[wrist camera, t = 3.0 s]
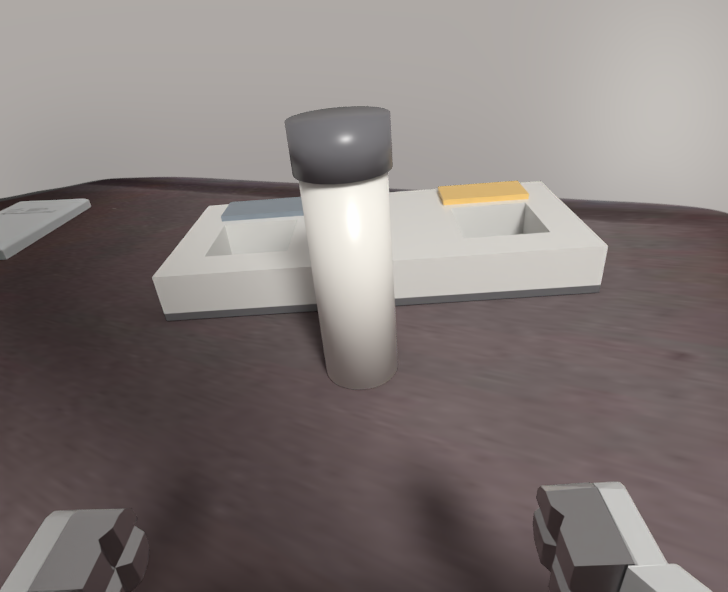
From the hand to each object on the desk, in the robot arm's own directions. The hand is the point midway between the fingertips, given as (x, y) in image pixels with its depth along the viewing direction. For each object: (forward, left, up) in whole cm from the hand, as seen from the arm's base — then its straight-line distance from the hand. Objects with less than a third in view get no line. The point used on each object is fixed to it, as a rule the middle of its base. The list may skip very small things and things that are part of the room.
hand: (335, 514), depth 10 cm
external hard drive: (-33, +36, -7) cm, 50 cm away
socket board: (+1, +25, -7) cm, 25 cm away
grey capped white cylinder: (0, +13, -7) cm, 15 cm away
